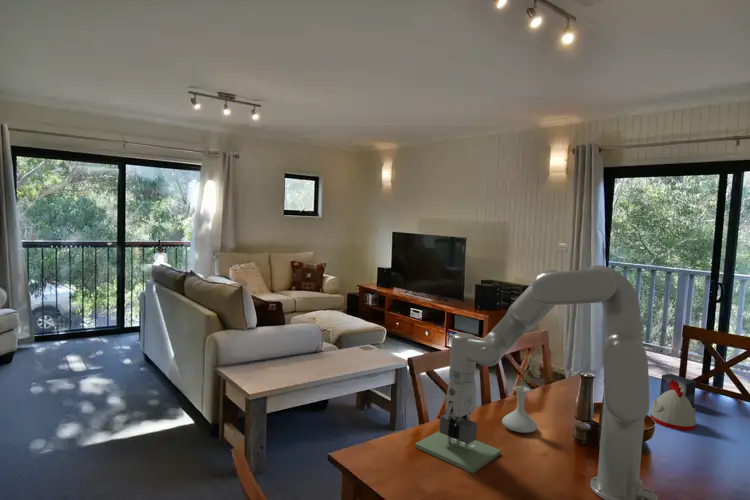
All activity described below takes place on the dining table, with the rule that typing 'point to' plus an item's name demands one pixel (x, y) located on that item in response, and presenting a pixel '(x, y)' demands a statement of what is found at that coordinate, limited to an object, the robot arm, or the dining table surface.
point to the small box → (684, 384)
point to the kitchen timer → (674, 410)
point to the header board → (458, 451)
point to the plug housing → (461, 429)
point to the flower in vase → (522, 404)
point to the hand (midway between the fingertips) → (457, 434)
